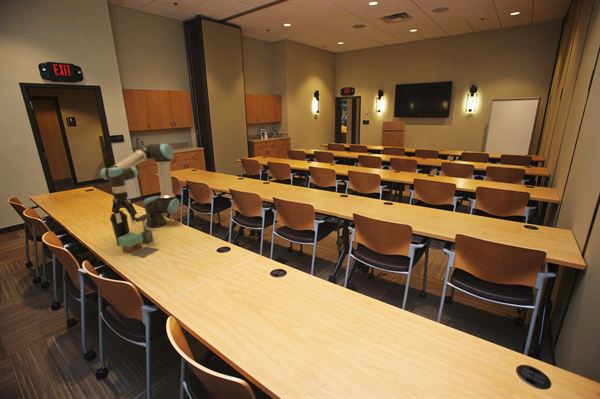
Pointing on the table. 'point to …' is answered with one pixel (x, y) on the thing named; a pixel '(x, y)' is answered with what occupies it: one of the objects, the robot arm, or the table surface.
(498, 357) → the table surface
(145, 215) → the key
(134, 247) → the case
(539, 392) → the table surface
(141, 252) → the mat
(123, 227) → the water bottle
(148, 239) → the lock block
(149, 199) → the robot arm
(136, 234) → the cover
